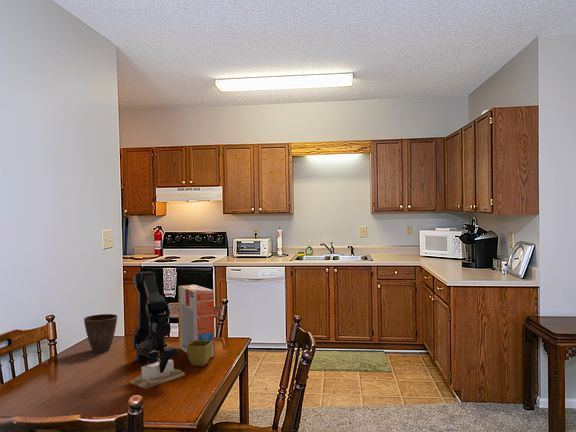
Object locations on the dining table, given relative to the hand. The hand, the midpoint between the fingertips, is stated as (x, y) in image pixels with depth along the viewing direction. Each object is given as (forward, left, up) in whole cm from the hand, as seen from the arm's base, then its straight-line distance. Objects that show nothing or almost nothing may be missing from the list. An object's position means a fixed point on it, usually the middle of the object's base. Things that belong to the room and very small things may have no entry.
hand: (157, 371), depth 183 cm
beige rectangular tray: (0, 0, -3) cm, 3 cm away
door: (0, 0, -2) cm, 2 cm away
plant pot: (-56, +9, -3) cm, 57 cm away
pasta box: (-15, +33, -3) cm, 37 cm away
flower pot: (0, +22, -3) cm, 22 cm away
